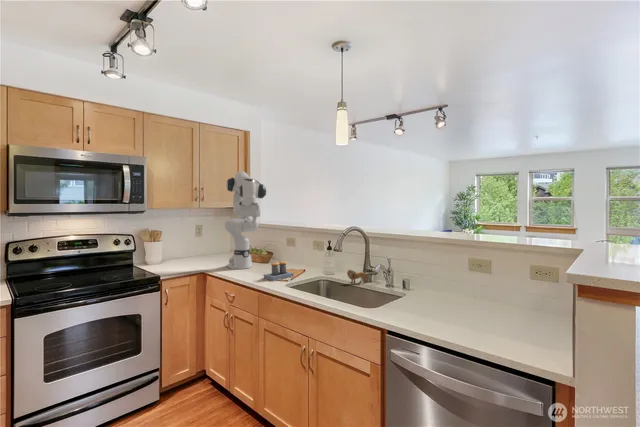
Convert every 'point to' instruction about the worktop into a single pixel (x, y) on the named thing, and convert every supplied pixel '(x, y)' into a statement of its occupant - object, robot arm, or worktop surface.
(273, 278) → the housing
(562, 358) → the worktop surface
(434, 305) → the worktop surface
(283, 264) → the seated jaw
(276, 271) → the jaw peg
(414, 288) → the worktop surface
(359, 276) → the lion figurine
